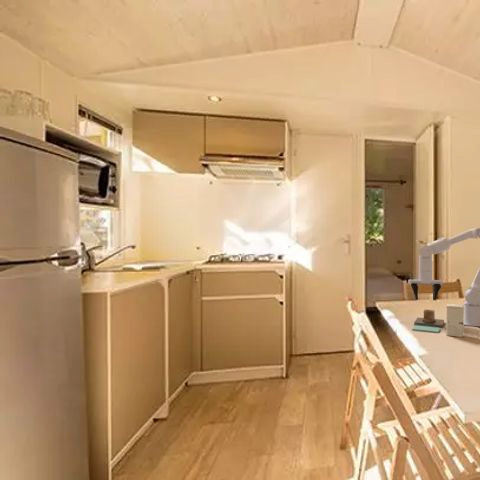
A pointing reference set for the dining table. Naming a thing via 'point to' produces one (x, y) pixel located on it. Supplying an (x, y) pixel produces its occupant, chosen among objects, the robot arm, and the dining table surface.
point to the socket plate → (429, 323)
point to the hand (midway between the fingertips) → (425, 299)
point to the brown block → (429, 316)
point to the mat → (426, 329)
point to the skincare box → (455, 320)
